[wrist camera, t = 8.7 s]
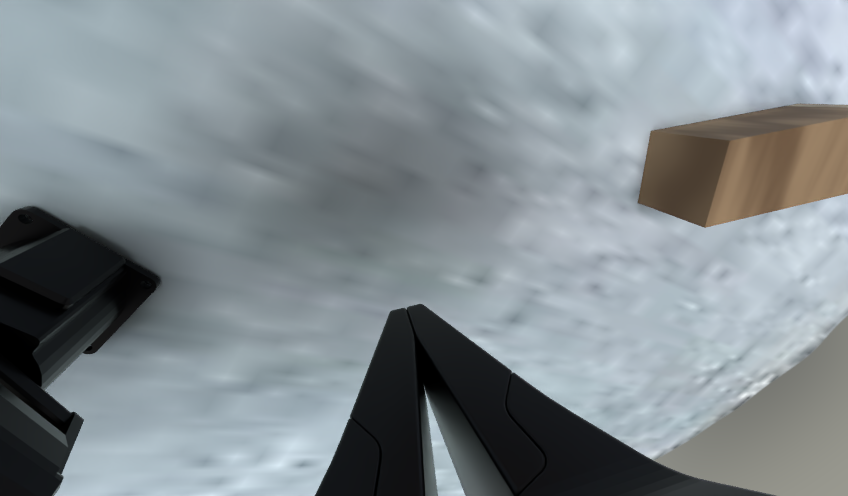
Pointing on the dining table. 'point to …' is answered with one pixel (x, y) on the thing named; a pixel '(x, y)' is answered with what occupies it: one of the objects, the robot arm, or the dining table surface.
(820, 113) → the walnut block
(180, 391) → the dining table surface
